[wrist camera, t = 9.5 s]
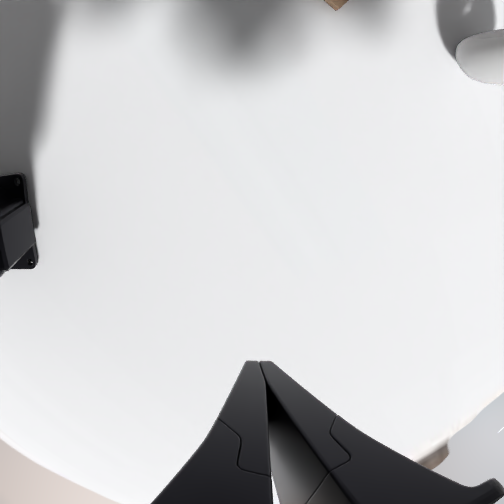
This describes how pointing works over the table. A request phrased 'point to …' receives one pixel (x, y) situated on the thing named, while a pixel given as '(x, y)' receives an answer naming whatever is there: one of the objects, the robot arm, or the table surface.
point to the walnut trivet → (336, 3)
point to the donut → (483, 57)
